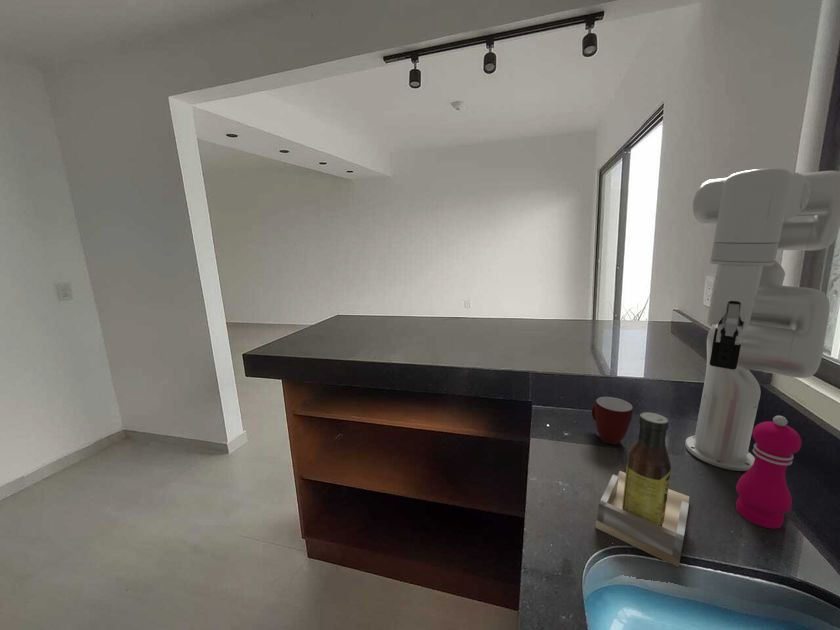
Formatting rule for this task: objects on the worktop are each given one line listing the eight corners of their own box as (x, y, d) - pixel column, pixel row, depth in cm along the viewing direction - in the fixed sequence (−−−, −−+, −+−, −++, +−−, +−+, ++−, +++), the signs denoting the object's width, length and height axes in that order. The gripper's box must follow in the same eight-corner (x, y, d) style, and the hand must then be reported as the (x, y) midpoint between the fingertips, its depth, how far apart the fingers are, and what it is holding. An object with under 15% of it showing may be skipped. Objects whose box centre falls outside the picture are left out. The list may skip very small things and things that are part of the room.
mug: (577, 430, 93) (580, 395, 91) (600, 424, 96) (603, 390, 94) (611, 452, 84) (616, 414, 82) (635, 445, 87) (641, 407, 85)
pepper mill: (792, 538, 60) (820, 432, 56) (736, 520, 64) (758, 420, 59) (778, 510, 66) (803, 412, 62) (728, 496, 70) (748, 402, 65)
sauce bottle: (669, 539, 59) (687, 431, 54) (627, 532, 60) (642, 427, 56) (652, 509, 65) (668, 410, 61) (615, 504, 66) (628, 407, 62)
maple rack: (619, 475, 76) (621, 456, 75) (688, 502, 68) (692, 480, 67) (595, 527, 63) (598, 504, 62) (678, 567, 55) (683, 542, 54)
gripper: (713, 252, 64) (697, 342, 68) (709, 257, 51) (690, 368, 55) (771, 252, 59) (751, 350, 63) (782, 258, 46) (756, 380, 50)
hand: (722, 358), depth 59 cm, fingers open, 9 cm apart
